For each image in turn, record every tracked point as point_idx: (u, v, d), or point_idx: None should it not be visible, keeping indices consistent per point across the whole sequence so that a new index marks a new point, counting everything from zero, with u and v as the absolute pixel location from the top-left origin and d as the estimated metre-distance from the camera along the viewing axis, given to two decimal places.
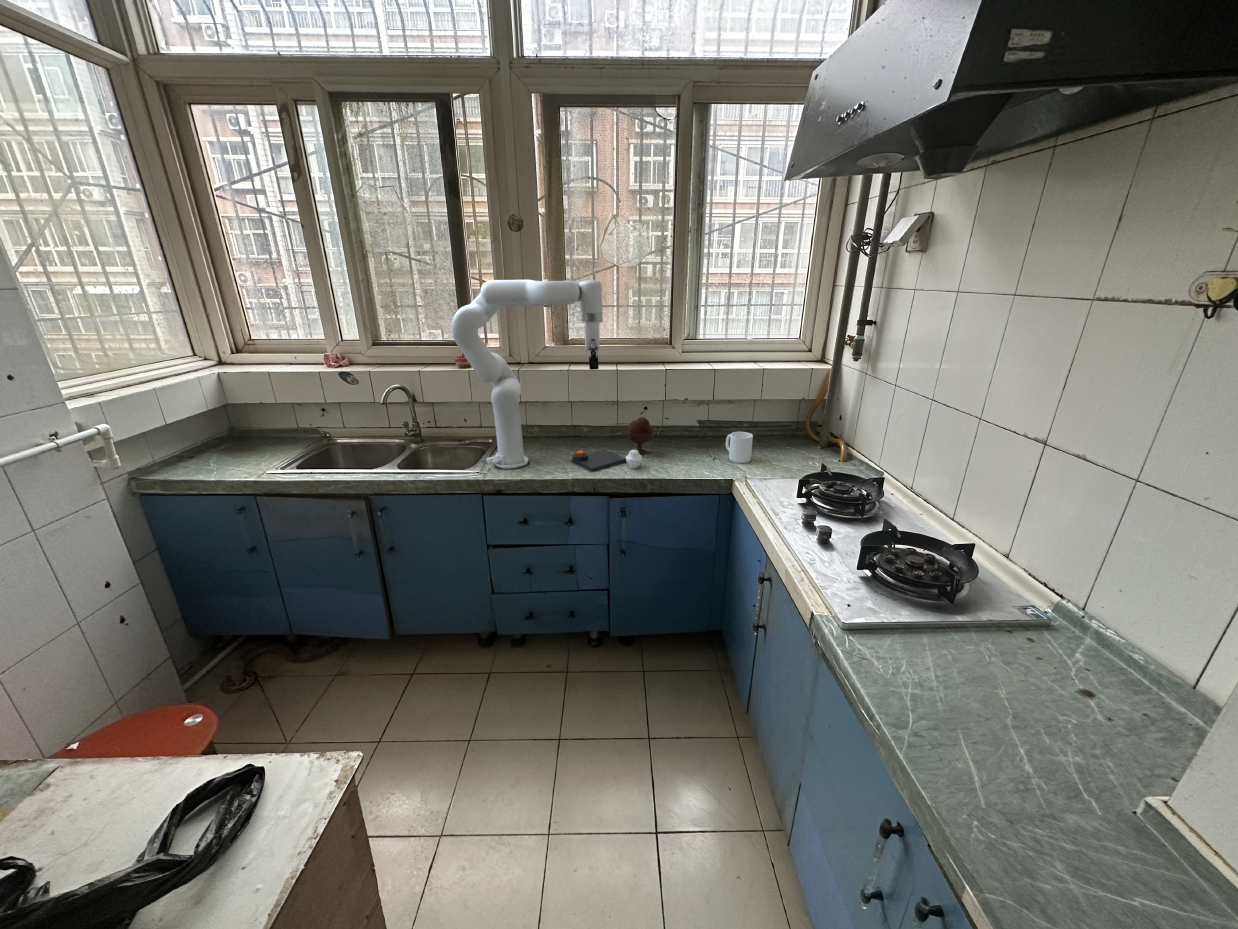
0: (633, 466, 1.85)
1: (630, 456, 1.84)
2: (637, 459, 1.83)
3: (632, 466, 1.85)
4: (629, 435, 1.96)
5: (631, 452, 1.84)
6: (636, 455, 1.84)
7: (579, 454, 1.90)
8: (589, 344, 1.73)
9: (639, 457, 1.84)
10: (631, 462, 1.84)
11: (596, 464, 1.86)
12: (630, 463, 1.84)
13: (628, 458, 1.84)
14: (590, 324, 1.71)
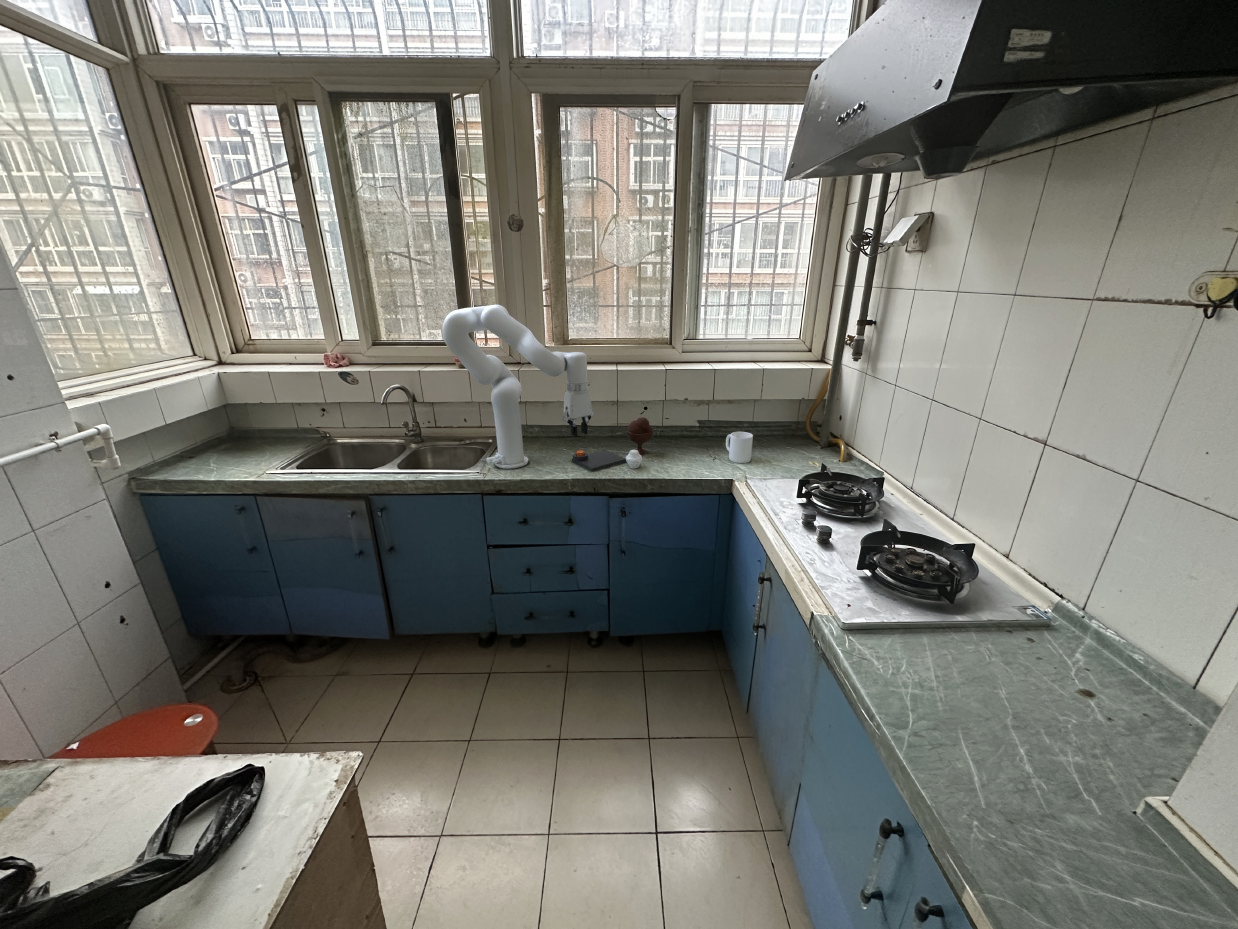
0: (633, 466, 1.85)
1: (630, 456, 1.84)
2: (637, 459, 1.83)
3: (632, 466, 1.85)
4: (629, 435, 1.96)
5: (631, 452, 1.84)
6: (636, 455, 1.84)
7: (579, 454, 1.90)
8: (564, 410, 1.83)
9: (639, 457, 1.84)
10: (631, 462, 1.84)
11: (596, 464, 1.86)
12: (630, 463, 1.84)
13: (628, 458, 1.84)
14: (566, 392, 1.81)
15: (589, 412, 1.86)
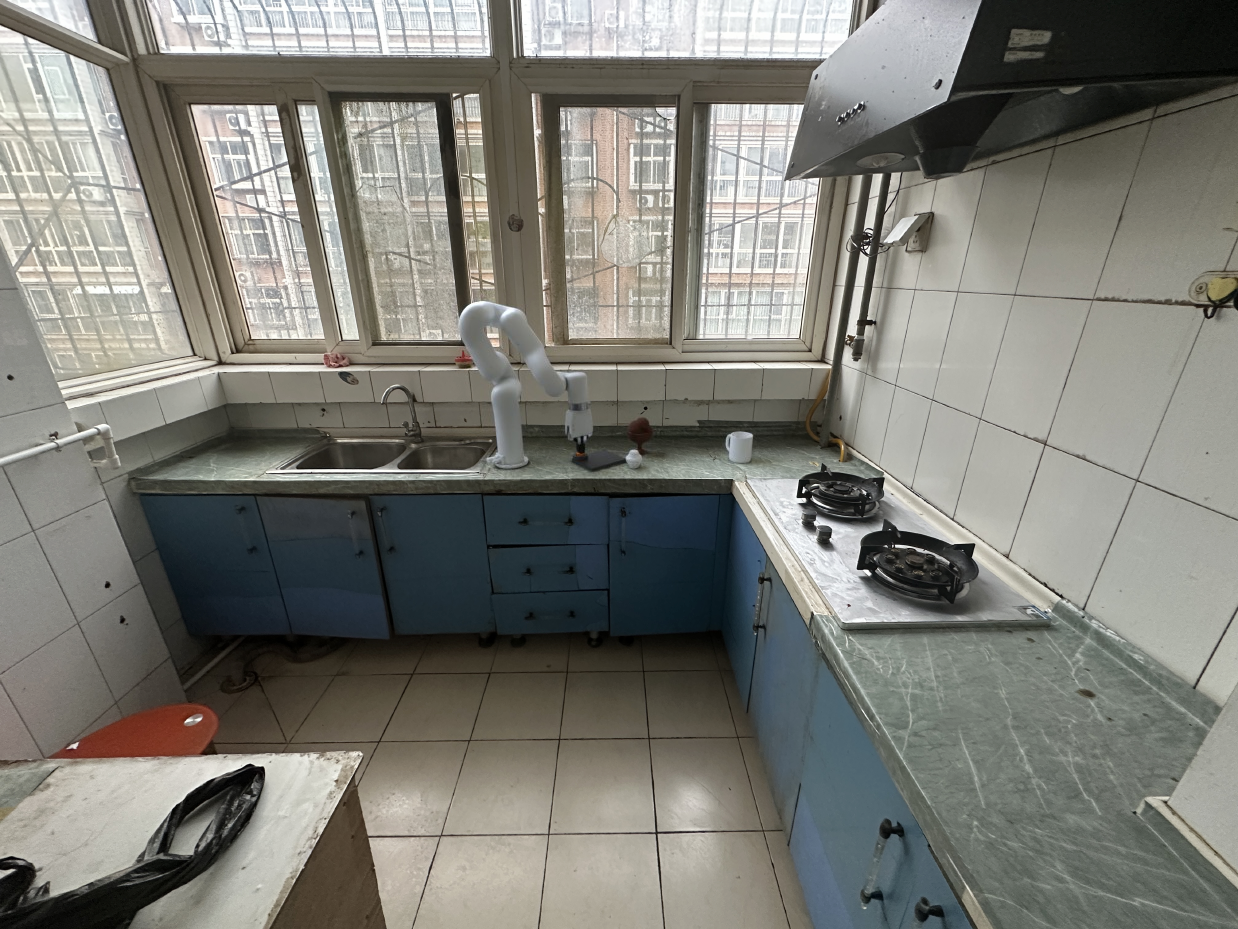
0: (633, 466, 1.85)
1: (630, 456, 1.84)
2: (637, 459, 1.83)
3: (632, 466, 1.85)
4: (629, 435, 1.96)
5: (631, 452, 1.84)
6: (636, 455, 1.84)
7: (579, 455, 1.91)
8: (566, 429, 1.86)
9: (639, 457, 1.84)
10: (631, 462, 1.84)
11: (596, 464, 1.86)
12: (630, 463, 1.84)
13: (628, 458, 1.84)
14: (567, 412, 1.84)
15: (590, 430, 1.89)
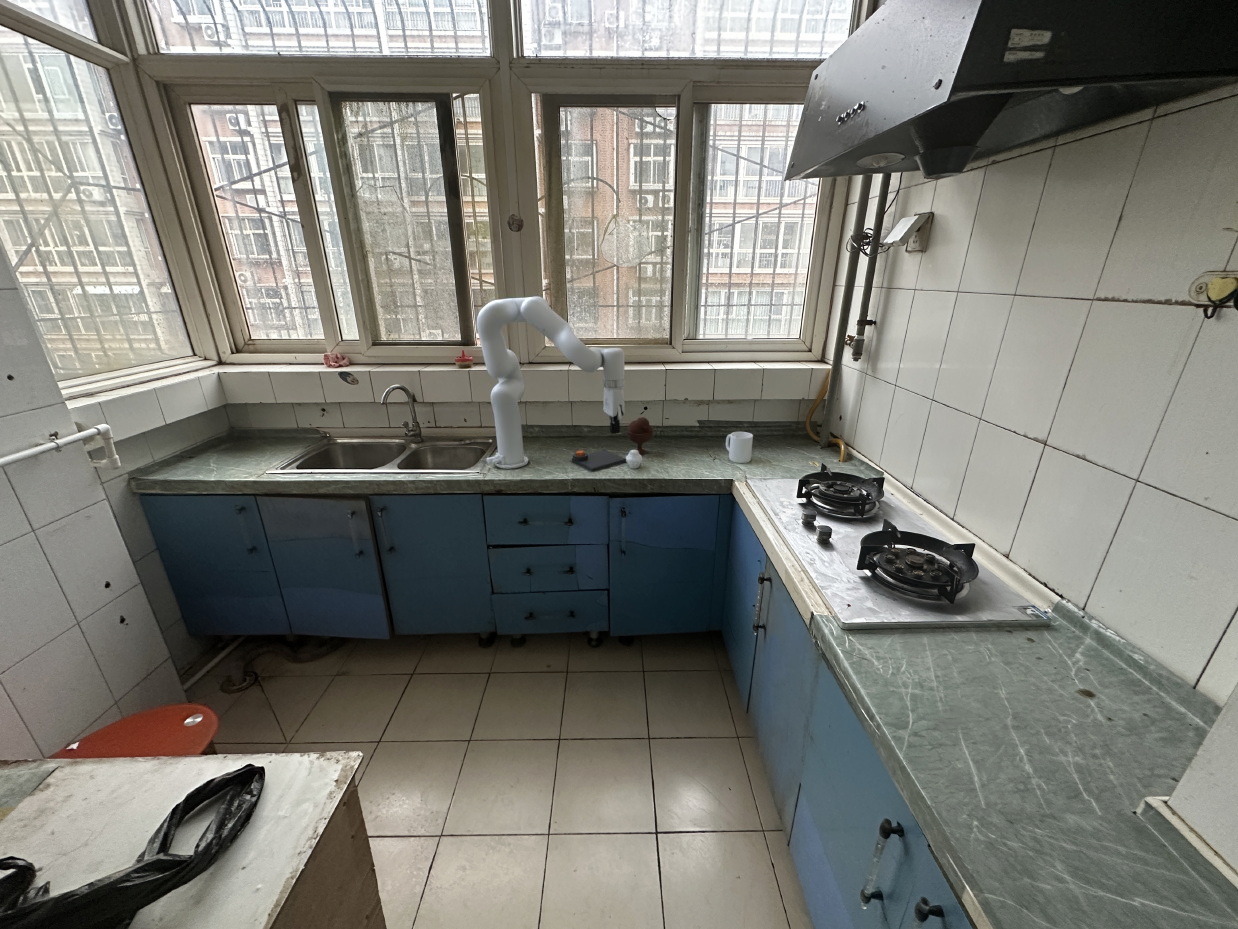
0: (633, 466, 1.85)
1: (630, 456, 1.84)
2: (637, 459, 1.83)
3: (632, 466, 1.85)
4: (629, 435, 1.96)
5: (631, 452, 1.84)
6: (636, 455, 1.84)
7: (579, 454, 1.90)
8: (616, 410, 1.76)
9: (639, 457, 1.84)
10: (631, 462, 1.84)
11: (596, 464, 1.86)
12: (630, 463, 1.84)
13: (628, 458, 1.84)
14: (617, 391, 1.74)
15: None
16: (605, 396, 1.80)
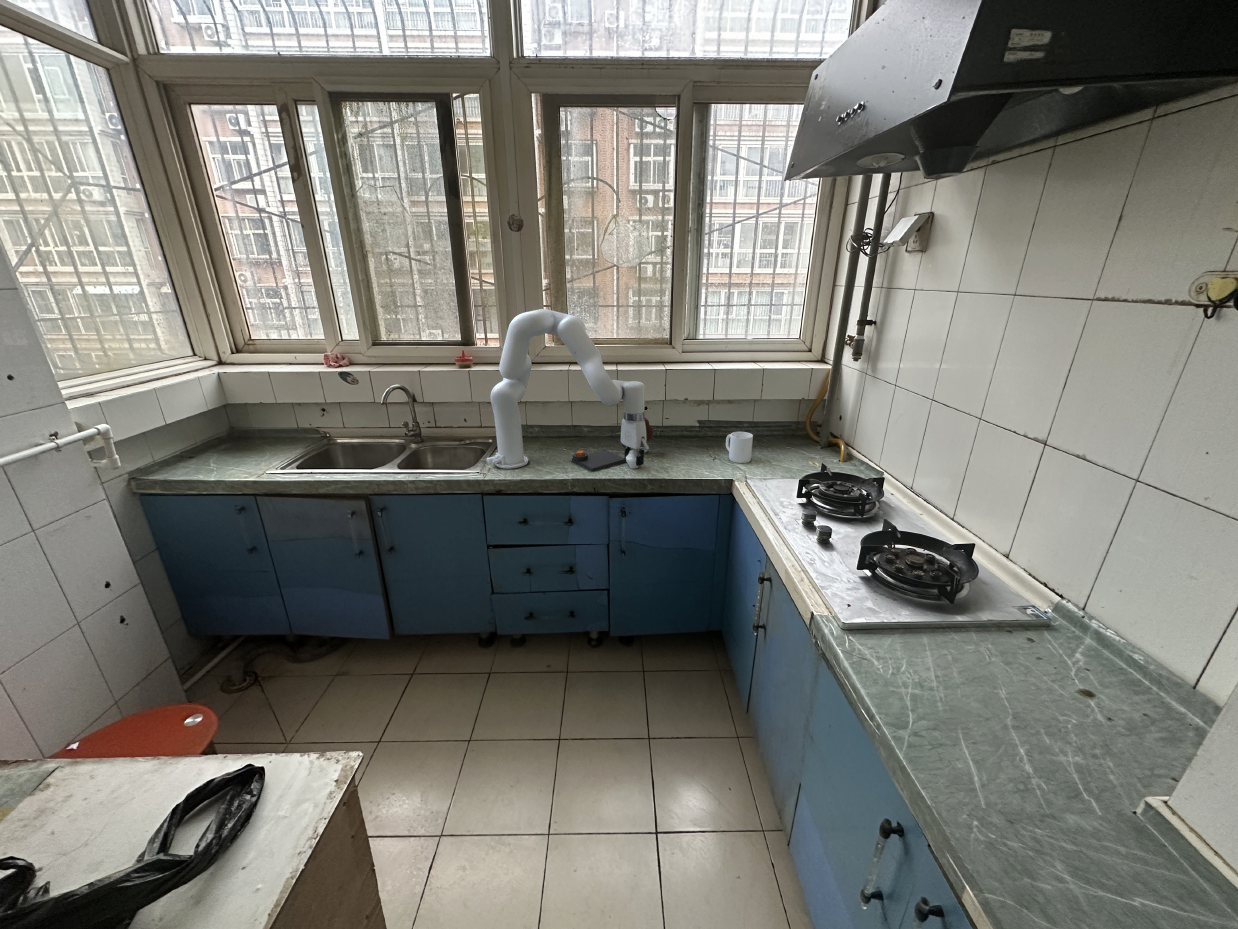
0: (633, 466, 1.85)
1: (630, 456, 1.84)
2: None
3: (632, 466, 1.85)
4: None
5: (631, 452, 1.84)
6: (636, 455, 1.84)
7: (579, 454, 1.90)
8: (640, 442, 1.79)
9: None
10: (631, 462, 1.84)
11: (596, 464, 1.86)
12: (630, 463, 1.84)
13: (628, 458, 1.84)
14: (640, 423, 1.77)
15: None
16: (625, 429, 1.81)
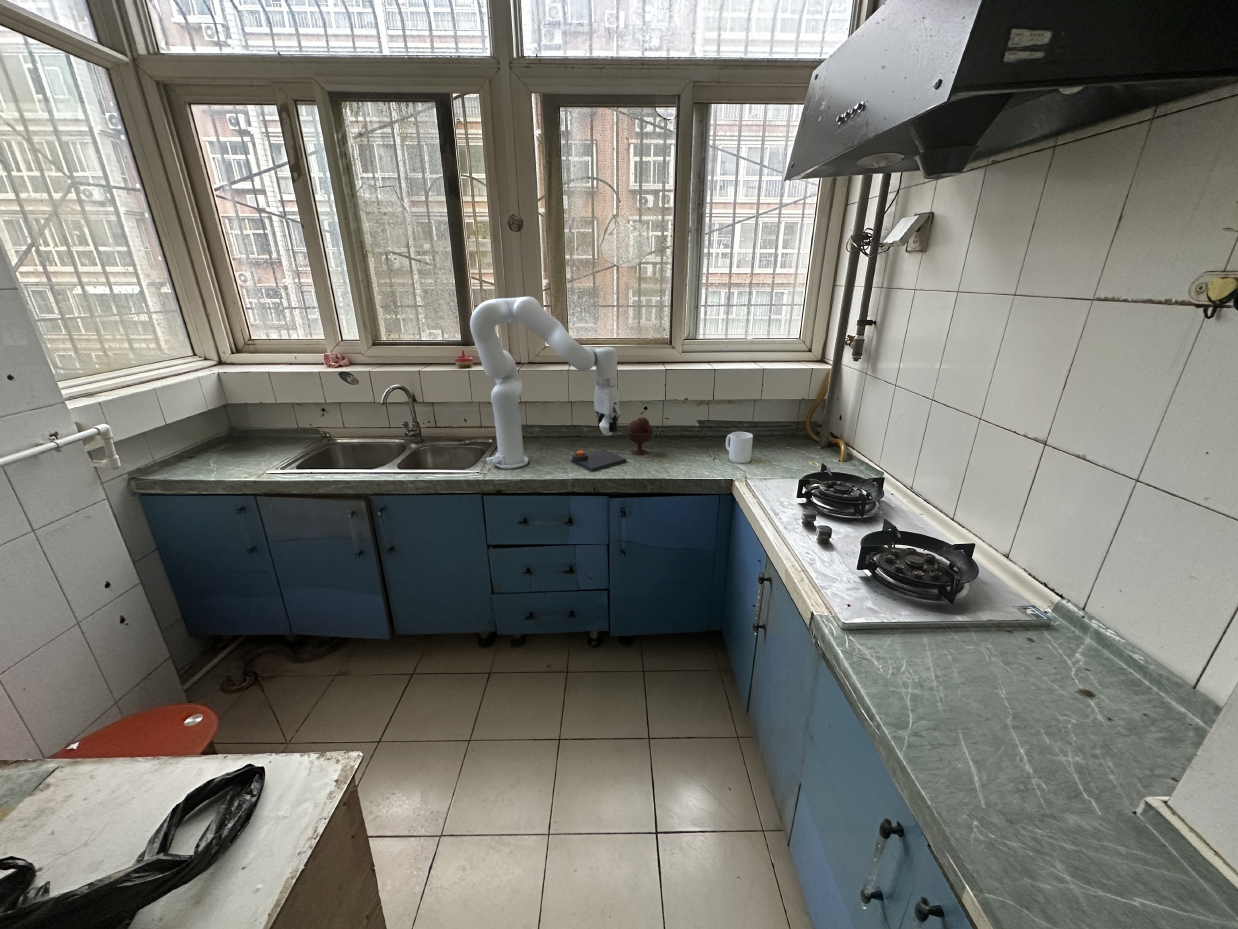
0: (606, 433, 1.86)
1: (603, 423, 1.84)
2: None
3: (605, 433, 1.86)
4: (629, 435, 1.96)
5: (604, 419, 1.85)
6: None
7: (579, 454, 1.90)
8: (612, 408, 1.79)
9: None
10: (604, 428, 1.84)
11: (596, 464, 1.86)
12: (603, 430, 1.85)
13: (601, 425, 1.85)
14: (612, 389, 1.78)
15: None
16: (598, 395, 1.82)
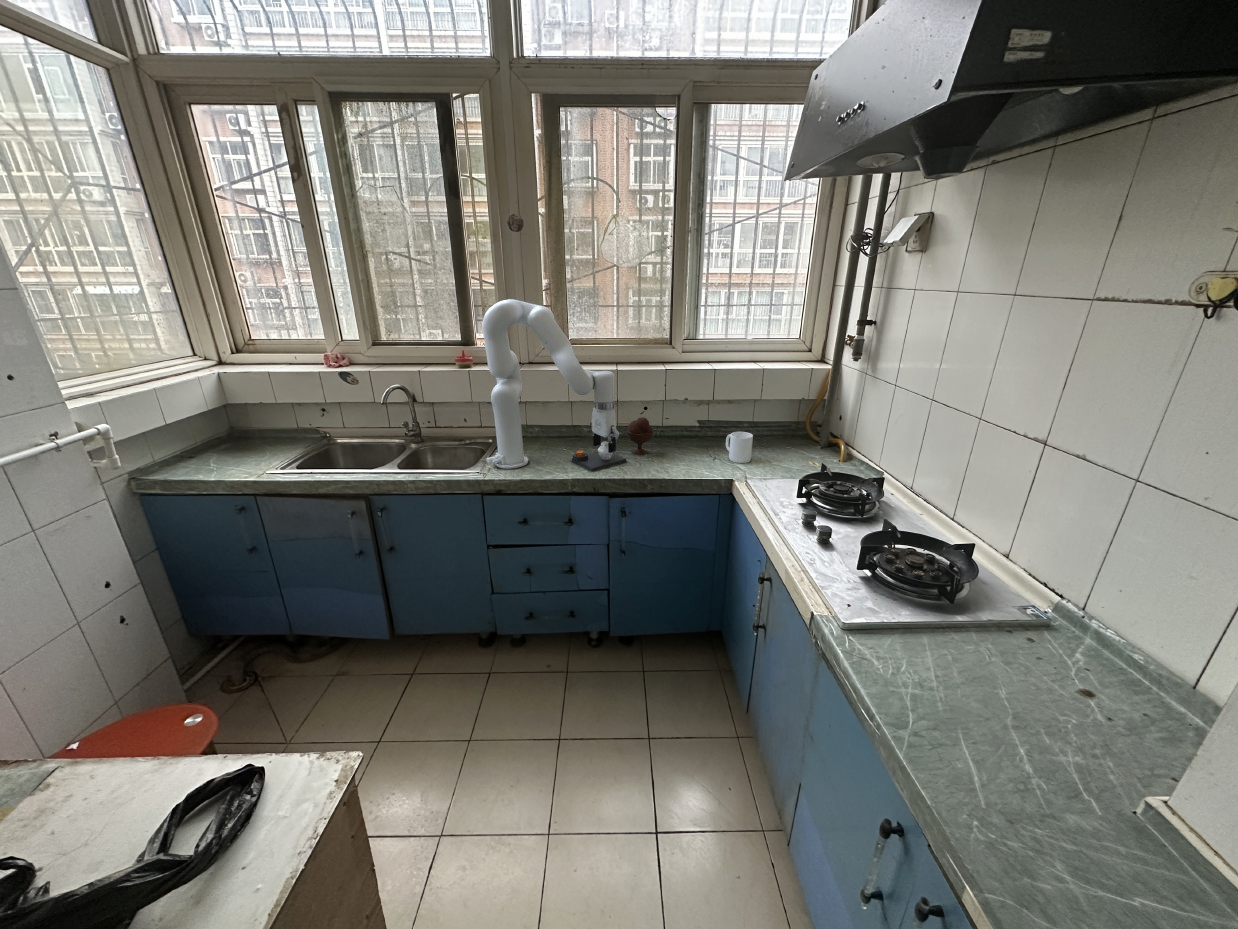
0: (605, 457, 1.90)
1: (602, 448, 1.89)
2: None
3: (604, 457, 1.90)
4: (629, 435, 1.96)
5: (602, 444, 1.89)
6: (607, 447, 1.88)
7: (579, 454, 1.90)
8: (609, 430, 1.83)
9: None
10: (602, 453, 1.88)
11: (596, 464, 1.86)
12: (602, 454, 1.89)
13: (600, 450, 1.89)
14: (610, 412, 1.81)
15: None
16: (595, 417, 1.86)
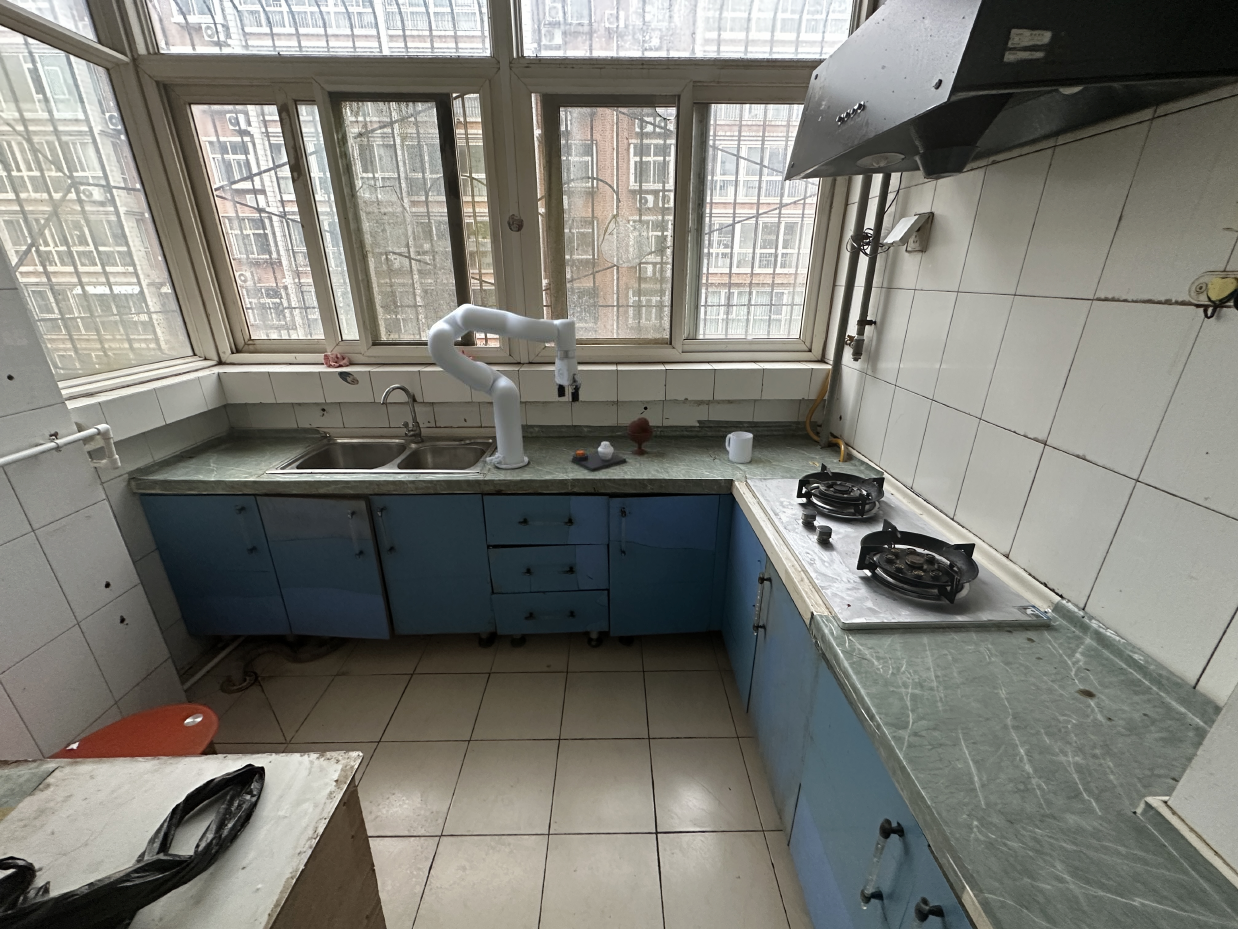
0: (605, 457, 1.90)
1: (602, 448, 1.89)
2: (608, 451, 1.88)
3: (604, 457, 1.90)
4: (629, 435, 1.96)
5: (602, 444, 1.89)
6: (607, 447, 1.88)
7: (579, 454, 1.90)
8: (571, 379, 1.83)
9: (610, 449, 1.89)
10: (602, 453, 1.88)
11: (596, 464, 1.86)
12: (602, 454, 1.89)
13: (600, 450, 1.89)
14: (571, 360, 1.81)
15: None
16: (558, 367, 1.86)
